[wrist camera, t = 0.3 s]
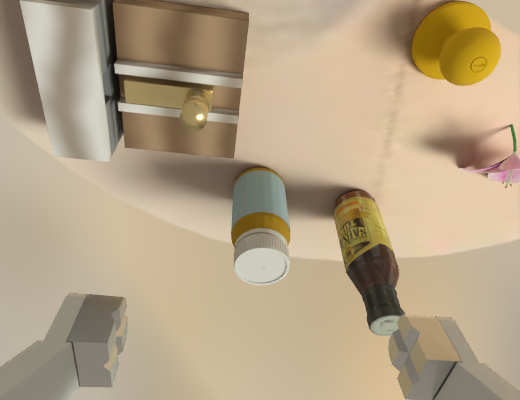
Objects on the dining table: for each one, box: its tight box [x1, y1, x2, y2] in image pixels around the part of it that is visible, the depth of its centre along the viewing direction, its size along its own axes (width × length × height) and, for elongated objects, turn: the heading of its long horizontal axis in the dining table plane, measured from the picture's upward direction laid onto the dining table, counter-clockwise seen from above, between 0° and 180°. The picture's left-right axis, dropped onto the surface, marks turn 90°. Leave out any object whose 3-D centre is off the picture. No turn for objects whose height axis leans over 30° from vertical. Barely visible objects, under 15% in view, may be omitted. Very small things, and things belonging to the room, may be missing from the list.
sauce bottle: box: [334, 190, 405, 336], centre depth 50 cm, size 7×6×20 cm
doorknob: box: [411, 1, 501, 86], centre depth 41 cm, size 8×8×8 cm
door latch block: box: [19, 0, 249, 162], centre depth 43 cm, size 20×16×6 cm
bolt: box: [124, 75, 214, 131], centre depth 41 cm, size 9×3×6 cm, turn 82°
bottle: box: [231, 168, 290, 285], centre depth 50 cm, size 7×7×15 cm
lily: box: [459, 125, 520, 188], centre depth 50 cm, size 12×12×10 cm
